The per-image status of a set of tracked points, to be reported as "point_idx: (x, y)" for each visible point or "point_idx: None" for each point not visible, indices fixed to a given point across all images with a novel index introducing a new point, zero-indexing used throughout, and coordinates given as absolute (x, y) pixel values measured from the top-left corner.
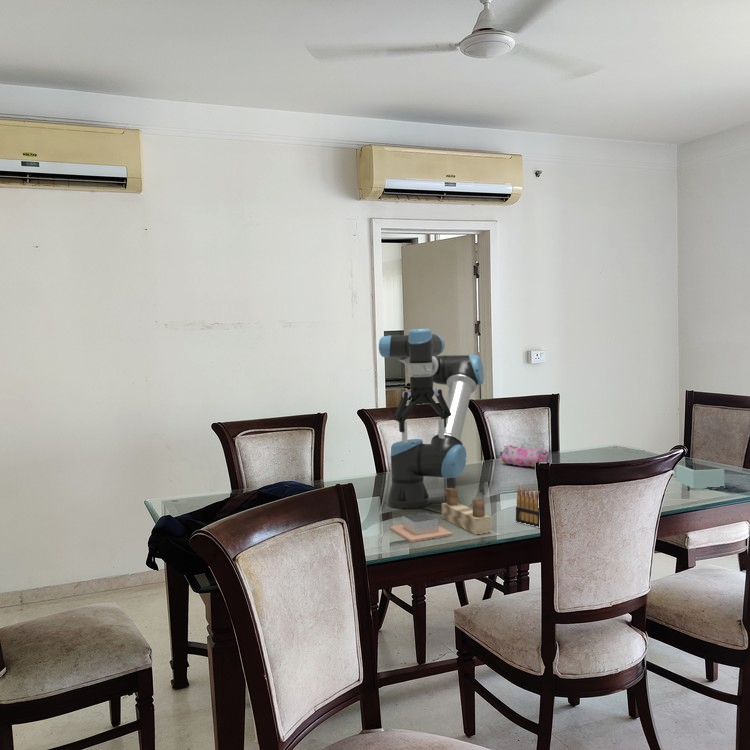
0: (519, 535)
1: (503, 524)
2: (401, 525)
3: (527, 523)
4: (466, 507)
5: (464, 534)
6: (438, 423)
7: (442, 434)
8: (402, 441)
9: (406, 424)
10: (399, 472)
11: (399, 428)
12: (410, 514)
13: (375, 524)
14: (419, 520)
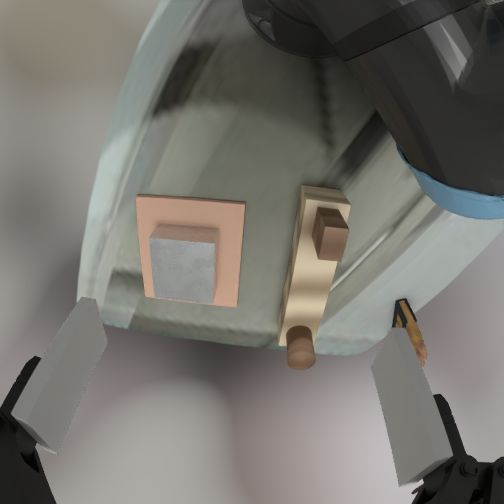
0: (334, 353)
1: (368, 299)
2: (164, 203)
3: (393, 324)
4: (329, 272)
5: (262, 308)
6: (422, 421)
7: (377, 388)
8: (83, 303)
9: (59, 440)
10: None
11: (21, 377)
12: (170, 240)
13: (123, 139)
14: (169, 291)
